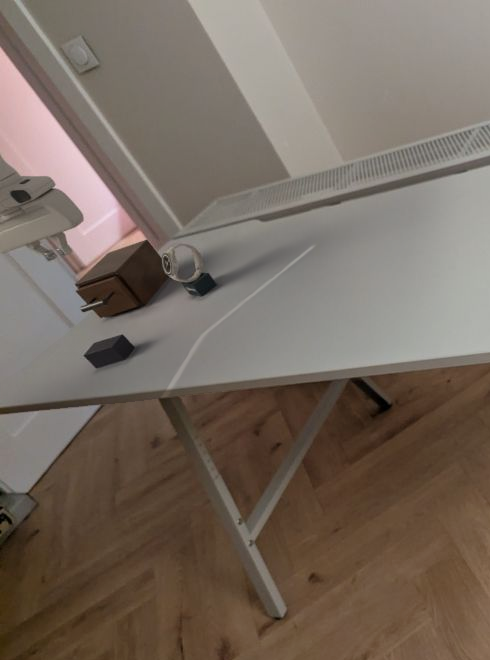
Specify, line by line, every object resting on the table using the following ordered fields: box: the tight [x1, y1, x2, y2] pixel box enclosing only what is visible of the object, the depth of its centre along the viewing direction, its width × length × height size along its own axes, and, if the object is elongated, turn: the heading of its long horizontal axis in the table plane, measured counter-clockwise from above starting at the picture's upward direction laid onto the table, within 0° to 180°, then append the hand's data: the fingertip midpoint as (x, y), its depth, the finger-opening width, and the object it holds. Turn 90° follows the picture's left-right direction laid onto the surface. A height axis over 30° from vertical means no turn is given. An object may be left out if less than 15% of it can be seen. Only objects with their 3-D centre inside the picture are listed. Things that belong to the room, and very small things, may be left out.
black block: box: [83, 333, 135, 369], centre depth 106 cm, size 7×4×4 cm, turn 90°
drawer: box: [75, 274, 140, 319], centre depth 124 cm, size 18×10×8 cm, turn 0°
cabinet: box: [74, 239, 170, 318], centre depth 128 cm, size 15×12×10 cm
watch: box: [161, 243, 218, 297], centre depth 116 cm, size 6×8×11 cm
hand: (60, 256), depth 112 cm, fingers open, 3 cm apart
